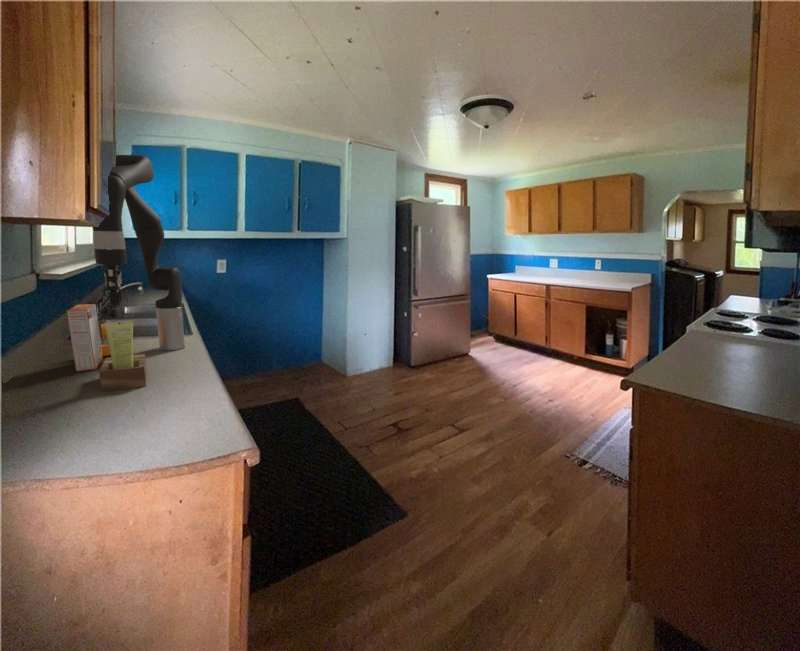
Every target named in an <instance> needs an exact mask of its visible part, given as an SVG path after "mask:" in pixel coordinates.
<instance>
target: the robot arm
mask: <svg viewBox="0 0 800 651" xmlns="http://www.w3.org/2000/svg"><path fill="white" fill-rule="evenodd" d="M115 165H116V166H115V167H113V166H112V167H111V168H112V169H111V172H110V175H109V176H108V194H109V201H108V202H109V203H108V205H109V212H110V214H109V216H108V217H106V218H105V219H104V220H103V221H102V222H101V223H100V225H99V227H92V241H93V242H92V243H93V251H94V259H95V264H97V265H103V266H106V268H105V269H104V271H103V276H104V277H105V278H104V280H105V286H106V290H107V292H108V296H109V297H108V298H109V303H110V306H119V305H120V304H121V301H122V300H123V298H122V291H121V290H122V283H123V279H122V274H123V273H122V270H121V268H120V266H119V265H126V264H128V258H127V249H126V248H127V247H126V240H125V235H124V232H123V230H124V229H123V223H122V222H123V221H122V220H123V219H122V216H123V207H124V202H125V204H126V206H127V209H128V212H129V215H130V221H131V223H132V227H133V230H134V234H135V236H136V239H137V242H138V245H139V248H140V251H141V255H142V259H143V264H144V267H145V272H146V277H147V281H148V285H149V286H150V288H151V289H153V291H154V290H155V291H168V294H167V295H166V296H164V297H163V298H160V299H159V298H158V299H157V300H156V301H155V302H154V303H155V313H156V315H155V316H156V324H157V333H158V334H157V336H158V345H159V350H160V351H176V350H182V349H185V348H186V345H185V343H186V342H185V332H184V329H185V328H184V319H183V307H182V302H183V297H182V296H183V295H182V275H181V272H180V271H181V270H179V269H178V268H177V267H171V266H170V267H169V266H166V267H165V266H163V267H162V266H160V265H159V263H158V254H159V251H160V248H161V247H162V245H163V242H164V240H165V231H164V227H163V224H162V221H161V218H160V216H159V215H158V214H157V212H155V211H154V210H153V208H151V207H150V205H149V204H147V203H146V202H145V201H144V200H143V199H142V197H141V196H140V195H139V193H138V192H137V191H136V189H135V186H137V185H140V184H148V183H151V182H152V181H153V179H154V174H155V173H154V167H153V164H152V163H151V160H150V159H149V158H148V157H146V156H145V155H141V154H116V164H115ZM181 348H182V349H181Z"/></svg>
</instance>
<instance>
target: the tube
mask: <svg viewBox="0 0 800 651" xmlns="http://www.w3.org/2000/svg"><path fill="white" fill-rule="evenodd" d="M103 324H104V327H105V330H106V333H107V338H106V339H107V341H108V345H109V347H110V353H111V356H110V357H111V358H112V365H113V369H120V368H129V367H133V355H134V341H133V340H134V338H133V337H134V320H127V321H126V320H125V321H115V322H113V321H112V322H104V323H103Z"/></svg>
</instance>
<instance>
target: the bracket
mask: <svg viewBox="0 0 800 651" xmlns="http://www.w3.org/2000/svg"><path fill="white" fill-rule="evenodd" d="M100 327H101V328H100V329H101V338H102V339H108V338H107V333H106V330H105V327H104V323H102V324H100ZM101 349H102V356H103V357H111V353H110V347H109V344H101Z"/></svg>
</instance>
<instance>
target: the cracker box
mask: <svg viewBox="0 0 800 651" xmlns="http://www.w3.org/2000/svg"><path fill="white" fill-rule="evenodd" d="M66 314H67V316H66V317H67V322H68V328H69V334H70V340H71V347H72V354H73V359H74V360H73V361H74V367H75V372H84V371H85V372H86V371H92V370H93V371H95V370H97V368H98V367H99V365H100V363H102V361H103V358H104V356H102V349H101V345H102V342H101V337H100V336H101V334H100V328H99V327H100V326H99V320H98V314H97V305H96V304H95V303H92V304H91V303H89V304H86V303H85V304H76V305H75V306H73V307H71V308H70V309H68V310H66Z"/></svg>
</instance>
